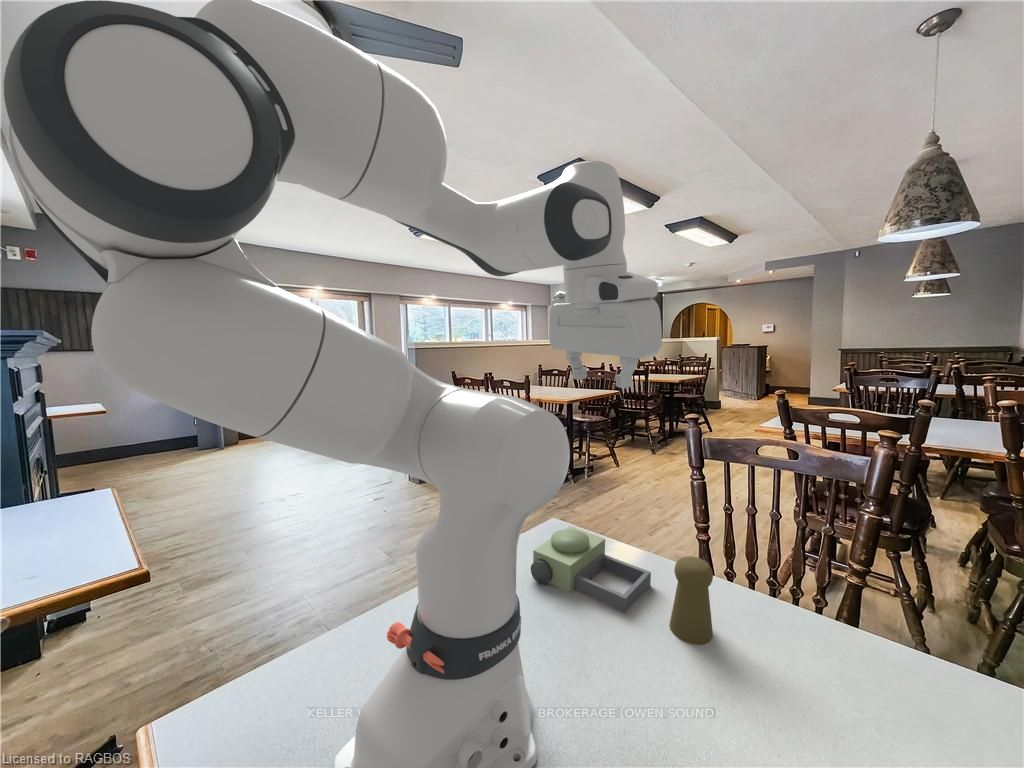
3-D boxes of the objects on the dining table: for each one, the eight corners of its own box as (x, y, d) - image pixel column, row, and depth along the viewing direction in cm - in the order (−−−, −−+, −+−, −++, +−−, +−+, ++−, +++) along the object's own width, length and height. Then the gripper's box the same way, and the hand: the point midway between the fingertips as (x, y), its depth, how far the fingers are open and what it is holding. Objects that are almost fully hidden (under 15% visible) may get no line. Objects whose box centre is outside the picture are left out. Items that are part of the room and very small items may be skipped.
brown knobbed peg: (707, 651, 60) (711, 578, 59) (663, 633, 64) (666, 564, 63) (717, 626, 65) (720, 558, 64) (676, 611, 69) (678, 546, 67)
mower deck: (618, 621, 67) (619, 584, 66) (529, 578, 78) (529, 546, 77) (655, 579, 77) (657, 546, 77) (572, 547, 89) (573, 518, 88)
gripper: (536, 293, 69) (543, 378, 72) (633, 286, 52) (637, 397, 55) (567, 290, 72) (572, 371, 75) (668, 282, 55) (670, 387, 58)
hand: (600, 382), depth 65 cm, fingers open, 8 cm apart
